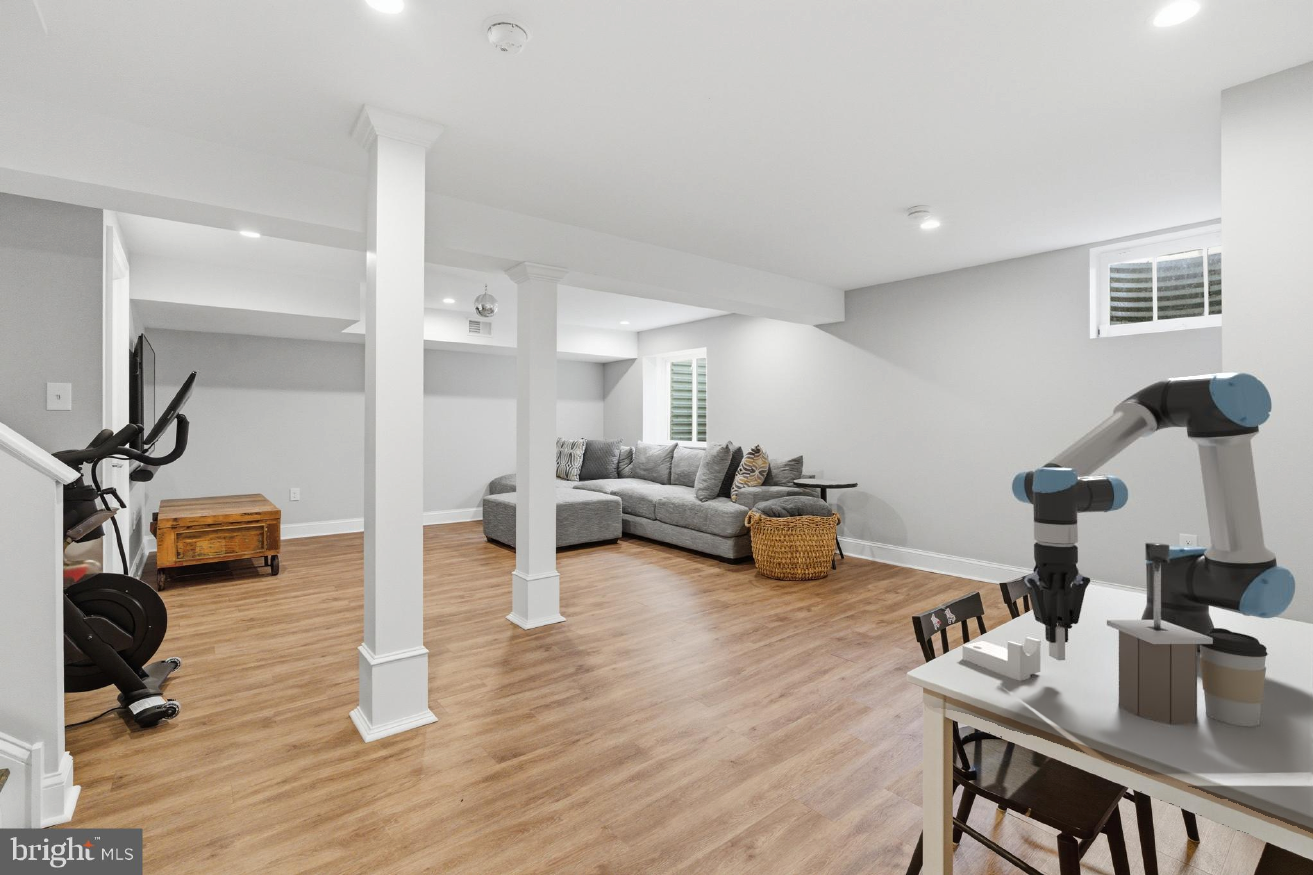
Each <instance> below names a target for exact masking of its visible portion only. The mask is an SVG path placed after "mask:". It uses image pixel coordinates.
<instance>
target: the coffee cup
mask: <svg viewBox="0 0 1313 875" xmlns="http://www.w3.org/2000/svg"><path fill="white" fill-rule="evenodd" d="M1205 636H1208V637H1211V638H1213V644H1200V650H1199V652H1200V655H1199V662H1200V674H1201V683H1202V684H1201V685H1202V690H1203V694H1204V704H1205V712H1206V715H1207V716H1209V717H1211V718H1213V719H1214V720H1218V721H1221V722H1222V723H1227V724H1230V725H1235V726H1242V727H1257V726H1259V724H1260V717H1261V716H1260V714H1261V708H1262V707H1261V706H1262V705H1261V704H1262V702H1263V698H1264V691H1265V690H1264V689H1265V681H1266V672H1267V667H1266V661H1267V660H1266V659H1267V656H1268V655H1269V654H1268V652H1267V647H1266V646H1265V644H1262V643H1260V641H1259V640H1258V638H1256V637H1254V636H1251V635H1249V634H1244V633H1240V632H1234V631H1232V630H1229V629H1226V628H1220V627H1214V628H1213V629H1211V630H1210V631H1207V632H1206V634H1205Z"/></svg>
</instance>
